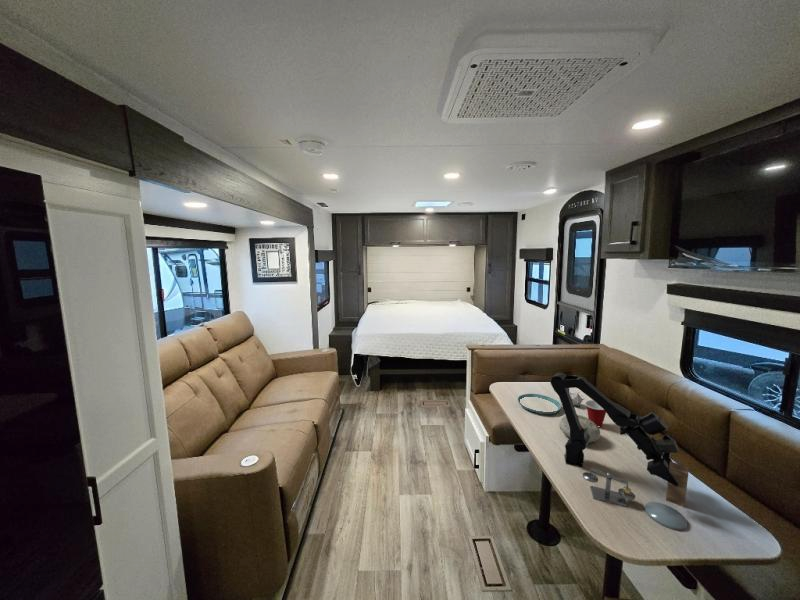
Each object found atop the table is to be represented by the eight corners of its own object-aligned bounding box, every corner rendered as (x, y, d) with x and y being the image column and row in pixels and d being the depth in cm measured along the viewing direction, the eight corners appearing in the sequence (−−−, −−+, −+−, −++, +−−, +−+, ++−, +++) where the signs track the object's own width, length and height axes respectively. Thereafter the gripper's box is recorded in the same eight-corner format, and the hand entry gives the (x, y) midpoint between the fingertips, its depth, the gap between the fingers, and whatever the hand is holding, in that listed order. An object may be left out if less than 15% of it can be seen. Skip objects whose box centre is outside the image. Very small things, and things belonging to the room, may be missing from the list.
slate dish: (651, 523, 105) (651, 521, 105) (640, 500, 115) (640, 498, 115) (693, 534, 101) (693, 531, 101) (678, 509, 111) (678, 507, 111)
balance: (582, 496, 117) (584, 471, 116) (580, 485, 123) (582, 461, 122) (636, 509, 111) (639, 483, 110) (631, 497, 116) (634, 472, 115)
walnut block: (666, 500, 115) (669, 467, 114) (666, 492, 119) (670, 461, 117) (684, 507, 112) (688, 473, 110) (684, 499, 116) (688, 466, 114)
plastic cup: (579, 420, 174) (580, 399, 173) (598, 419, 174) (600, 399, 173) (591, 430, 163) (593, 408, 162) (611, 430, 163) (613, 408, 162)
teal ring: (508, 402, 196) (509, 397, 195) (536, 395, 206) (537, 391, 206) (540, 420, 174) (541, 414, 174) (570, 411, 184) (570, 406, 184)
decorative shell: (599, 434, 159) (601, 416, 158) (599, 452, 145) (600, 431, 143) (560, 424, 169) (562, 407, 168) (556, 439, 154) (557, 420, 153)
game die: (574, 410, 194) (580, 395, 196) (582, 411, 185) (589, 396, 188) (561, 402, 195) (567, 388, 197) (569, 403, 186) (575, 388, 189)
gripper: (662, 441, 109) (702, 485, 103) (663, 421, 123) (699, 459, 117) (632, 453, 115) (668, 495, 109) (636, 433, 129) (669, 469, 123)
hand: (677, 479), depth 115 cm, fingers open, 9 cm apart
